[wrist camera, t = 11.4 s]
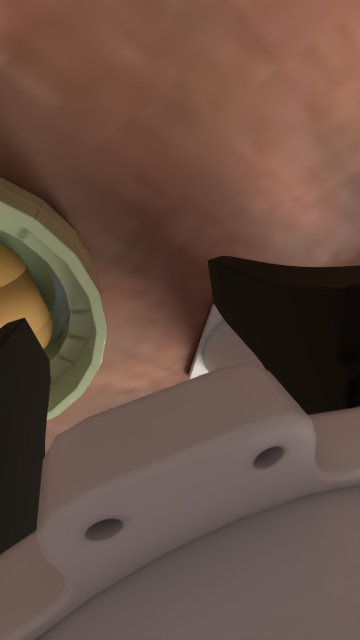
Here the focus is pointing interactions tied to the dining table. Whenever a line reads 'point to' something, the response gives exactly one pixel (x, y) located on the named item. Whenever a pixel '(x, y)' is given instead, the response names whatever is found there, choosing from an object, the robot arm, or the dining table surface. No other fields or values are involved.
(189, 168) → the dining table surface
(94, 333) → the celadon bowl
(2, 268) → the potato
